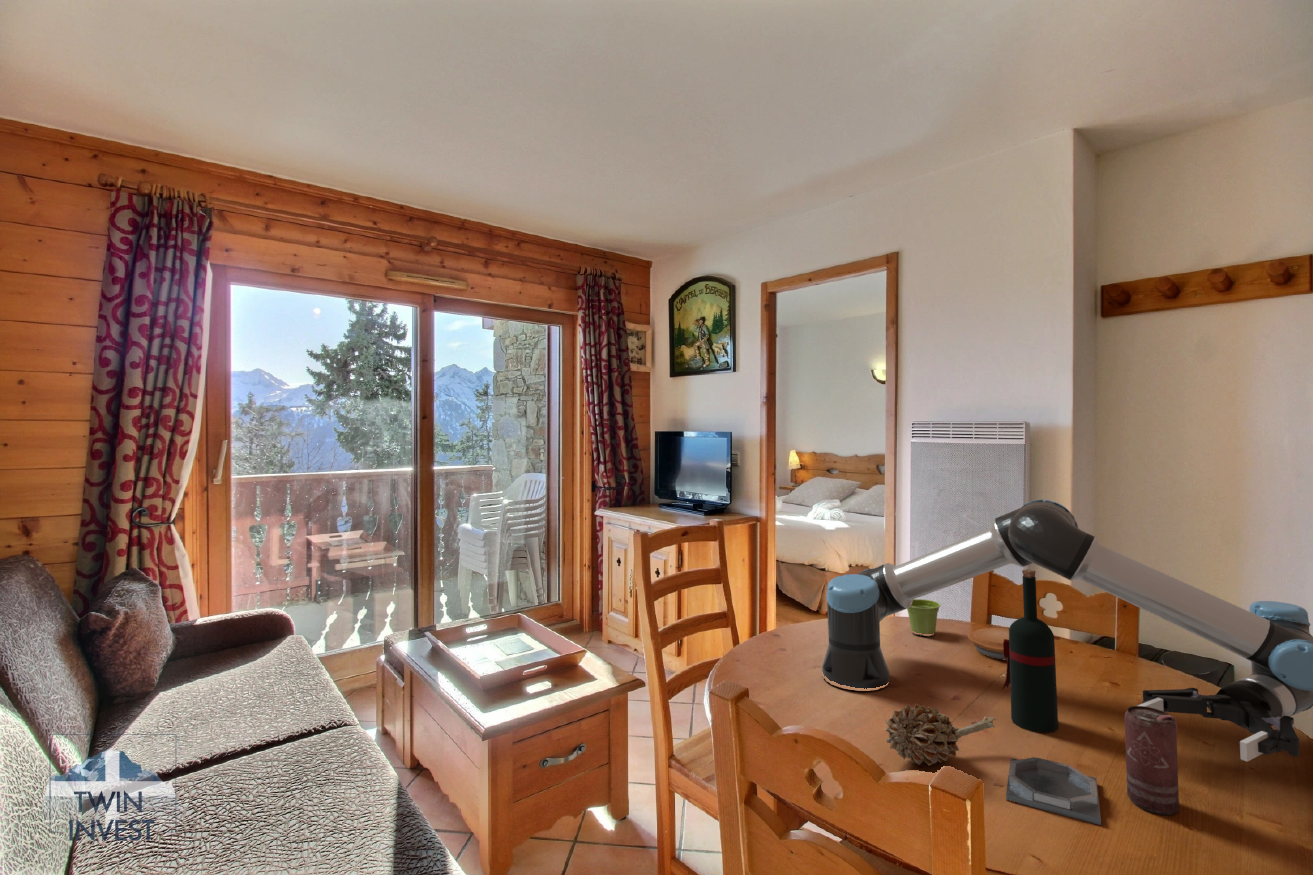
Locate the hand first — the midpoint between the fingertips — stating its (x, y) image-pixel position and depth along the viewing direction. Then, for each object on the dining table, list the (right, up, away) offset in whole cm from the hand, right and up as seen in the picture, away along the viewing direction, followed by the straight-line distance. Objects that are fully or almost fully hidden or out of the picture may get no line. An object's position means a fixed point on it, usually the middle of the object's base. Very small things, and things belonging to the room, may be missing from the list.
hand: (1187, 731), depth 96 cm
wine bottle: (-11, -9, +23) cm, 27 cm away
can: (-9, -9, -4) cm, 13 cm away
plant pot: (-9, -9, +75) cm, 76 cm away
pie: (+4, -9, +59) cm, 59 cm away
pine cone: (-34, -10, +11) cm, 37 cm away
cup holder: (-22, -10, 0) cm, 24 cm away
